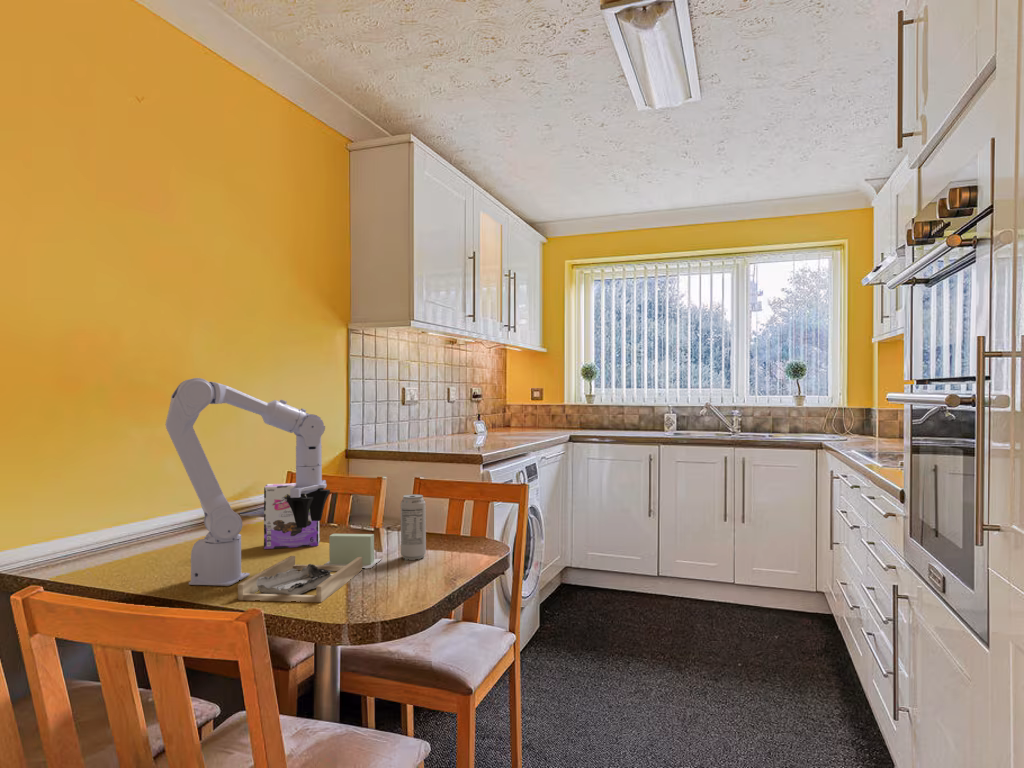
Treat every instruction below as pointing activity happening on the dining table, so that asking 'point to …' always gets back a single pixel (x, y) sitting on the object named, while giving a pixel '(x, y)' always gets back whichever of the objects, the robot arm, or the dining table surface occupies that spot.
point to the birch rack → (322, 590)
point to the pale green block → (351, 548)
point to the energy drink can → (413, 527)
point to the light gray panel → (362, 564)
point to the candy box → (285, 521)
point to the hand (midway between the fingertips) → (309, 524)
